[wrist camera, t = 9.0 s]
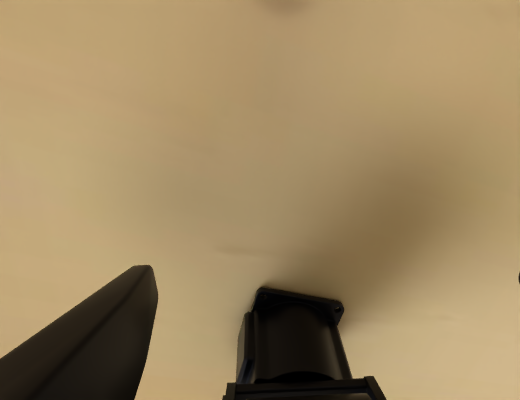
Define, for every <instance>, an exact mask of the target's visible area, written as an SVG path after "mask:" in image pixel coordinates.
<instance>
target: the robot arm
mask: <svg viewBox="0 0 520 400" xmlns="http://www.w3.org/2000/svg"><path fill="white" fill-rule="evenodd" d="M519 283H520V273H519ZM262 294H265V296H261V295H262ZM157 304H158V291H157V286H156V281H155V276H154V272H153V269H152V267H151V266H150V265H138V266H133V267H131V268H130V269H128V270H127V271H125V272H124V273H122V274H121V275H120V276H118V277H117V278H115V279H114V280H112V281H111V282H109V283H108V284H107V285H105V286H104V287H102V288H101V289H99V290H98V291H97V292H95V293H94V294H92V295H91V296H89V297H88V298H87V299H85V300H84V301H82V302H81V303H79V304H78V305H77V306H75V307H74V308H72V309H71V310H69V311H68V312H67V313H65V314H64V315H62V316H61V317H59V318H58V319H57V320H55V321H54V322H52V323H51V324H49V325H48V326H47V327H45V328H44V329H42V330H41V331H39V332H38V333H37V334H35V335H34V336H32V337H31V338H29V339H28V340H26V341H25V342H24V343H22V344H21V345H19V346H18V347H16V348H15V349H14V350H12V351H11V352H9V353H8V354H6V355H5V356H4V357H2V358H1V359H0V400H134V399H135V396H136V393H137V389H138V386H139V383H140V380H141V377H142V374H143V370H144V367H145V363H146V359H147V355H148V350H149V345H150V340H151V335H152V329H153V324H154V319H155V314H156V309H157ZM337 307H339V308H338V309H335V308H337ZM343 312H344V307H343V304H342V303H341V302H340V301H335V300H330V299H324V298H319V297H313V296H308V295H302V294H297V293H291V292H286V291H280V290H274V289H269V288H260V289H258V290H257V292H256V295H255V298H254V302H253V305H252V308H251V312H247V313H245V315H244V319H243V322H242V325H241V329H240V332H239V336H238V348H237V369H236V383H227V389H226V395H223V399H222V400H387V399H386V398H385V396H384V394H383V392H382V390H381V389H380V387H379V385H378V383H377V382H376V380H375V378H374V376H365V377H364V378H359V379H353V378H352V375H351V371H350V368H349V364H348V361H347V358H346V354H345V351H344V348H343V344H342V341H341V338H340V334H339V331H338V327H337V325H338V323H339V321H340V319H341V317H342V314H343Z"/></svg>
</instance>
